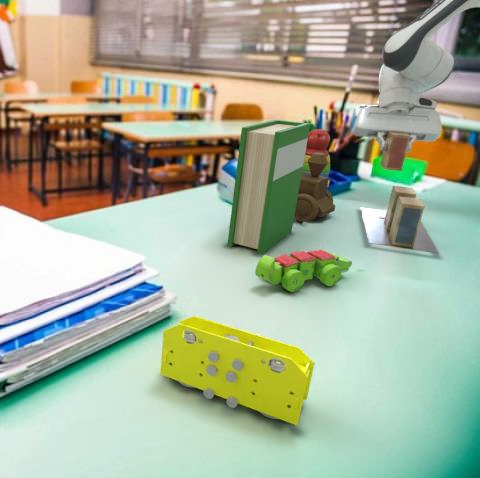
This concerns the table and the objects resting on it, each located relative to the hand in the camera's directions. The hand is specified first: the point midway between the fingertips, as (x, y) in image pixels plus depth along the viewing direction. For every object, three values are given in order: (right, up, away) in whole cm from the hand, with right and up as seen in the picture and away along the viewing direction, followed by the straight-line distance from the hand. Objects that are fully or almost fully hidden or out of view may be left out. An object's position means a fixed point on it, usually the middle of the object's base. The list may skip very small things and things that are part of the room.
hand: (395, 150), depth 126 cm
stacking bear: (-15, -8, +20) cm, 26 cm away
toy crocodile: (-39, -30, -40) cm, 63 cm away
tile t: (-11, -23, -21) cm, 33 cm away
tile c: (0, -4, +2) cm, 5 cm away
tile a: (-7, -20, -12) cm, 25 cm away
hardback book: (-40, -23, -20) cm, 51 cm away
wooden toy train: (-29, -16, -2) cm, 33 cm away
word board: (-7, -21, -12) cm, 25 cm away
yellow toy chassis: (-58, -41, -69) cm, 99 cm away
